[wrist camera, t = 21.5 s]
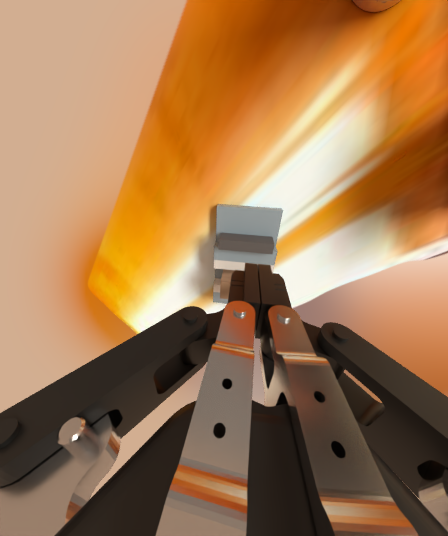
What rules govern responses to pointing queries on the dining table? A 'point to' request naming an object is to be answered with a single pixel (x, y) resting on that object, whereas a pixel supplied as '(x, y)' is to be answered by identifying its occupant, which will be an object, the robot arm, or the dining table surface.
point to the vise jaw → (243, 251)
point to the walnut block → (225, 283)
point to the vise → (244, 229)
